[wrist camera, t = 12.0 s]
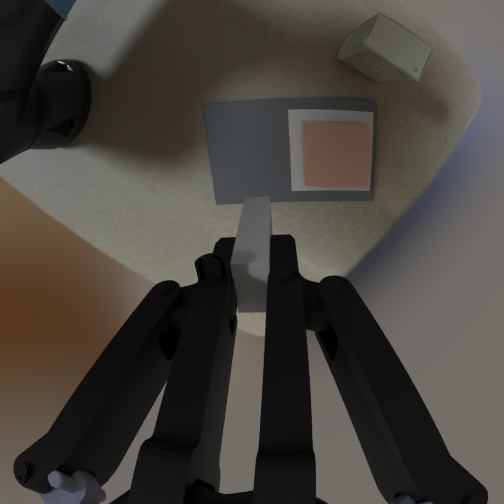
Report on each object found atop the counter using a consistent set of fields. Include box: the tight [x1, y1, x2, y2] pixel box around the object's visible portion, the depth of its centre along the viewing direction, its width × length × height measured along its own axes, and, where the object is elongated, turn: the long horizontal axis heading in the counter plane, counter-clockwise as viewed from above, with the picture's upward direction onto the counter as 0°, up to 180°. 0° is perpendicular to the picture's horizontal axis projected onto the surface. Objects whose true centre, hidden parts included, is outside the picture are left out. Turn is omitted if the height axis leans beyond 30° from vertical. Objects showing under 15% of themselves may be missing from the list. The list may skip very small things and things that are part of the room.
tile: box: [301, 121, 369, 187], centre depth 31 cm, size 3×8×8 cm
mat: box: [203, 98, 376, 204], centre depth 33 cm, size 22×14×1 cm, turn 95°
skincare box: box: [337, 12, 433, 82], centre depth 20 cm, size 6×4×12 cm
